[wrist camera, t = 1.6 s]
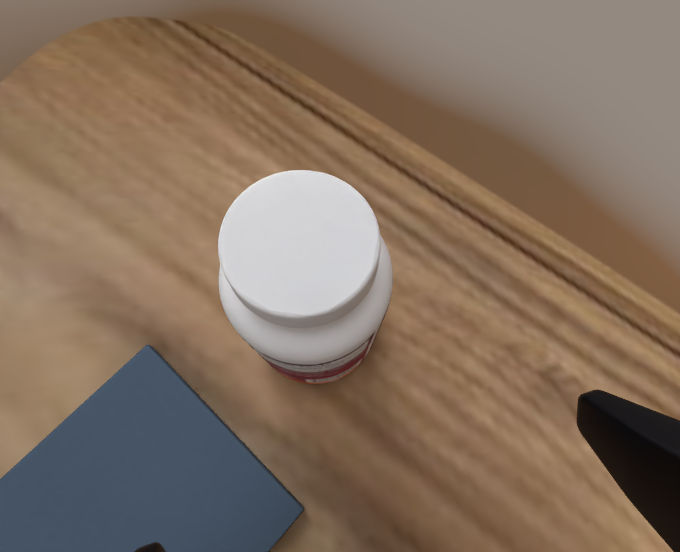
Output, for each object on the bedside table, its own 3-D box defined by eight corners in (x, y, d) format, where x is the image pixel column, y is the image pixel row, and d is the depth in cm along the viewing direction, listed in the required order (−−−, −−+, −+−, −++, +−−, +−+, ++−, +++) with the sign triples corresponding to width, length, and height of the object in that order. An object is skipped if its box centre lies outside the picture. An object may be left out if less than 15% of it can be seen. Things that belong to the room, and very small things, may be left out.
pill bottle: (297, 251, 24) (270, 114, 13) (394, 305, 23) (446, 201, 12) (233, 347, 22) (144, 272, 12) (336, 410, 21) (340, 390, 11)
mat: (304, 507, 19) (303, 510, 19) (108, 742, 17) (100, 752, 16) (151, 346, 22) (146, 343, 21) (-43, 525, 19) (-55, 528, 18)
